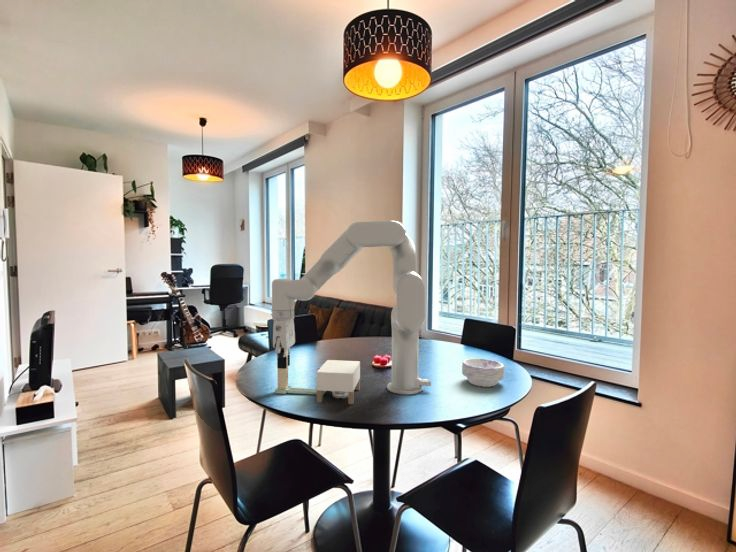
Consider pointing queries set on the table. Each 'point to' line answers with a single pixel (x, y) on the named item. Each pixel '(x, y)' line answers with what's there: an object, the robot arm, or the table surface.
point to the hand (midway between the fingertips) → (283, 366)
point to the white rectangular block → (339, 378)
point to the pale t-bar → (284, 387)
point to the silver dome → (339, 394)
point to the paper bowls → (483, 371)
